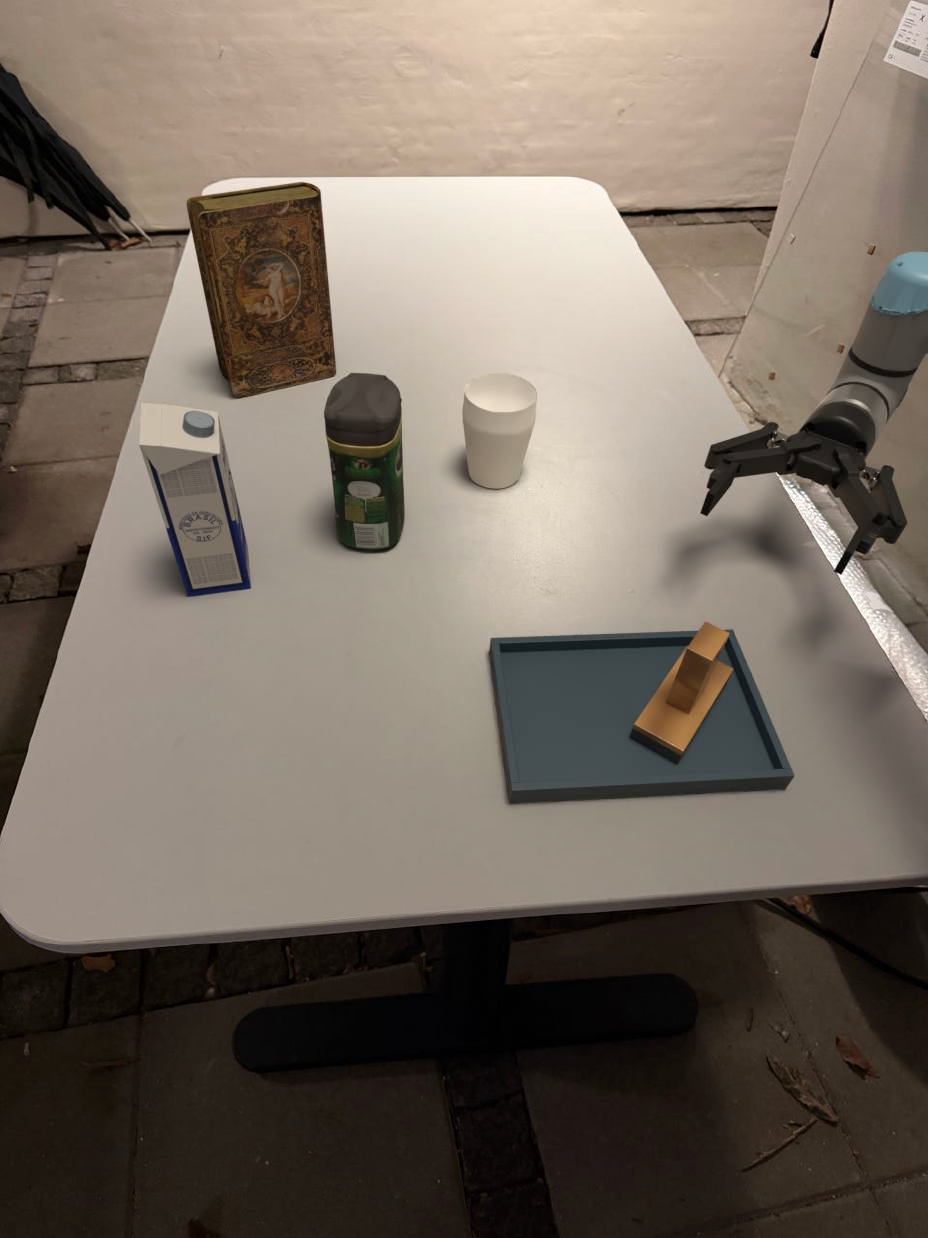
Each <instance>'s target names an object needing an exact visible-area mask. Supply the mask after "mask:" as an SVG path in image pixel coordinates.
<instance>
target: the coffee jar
mask: <svg viewBox="0 0 928 1238" xmlns="http://www.w3.org/2000/svg"><path fill="white" fill-rule="evenodd" d="M402 402H403V399H402V397H401V392H400V389H399V387H398V385H396V383H394V382H393V381H392V380H391V379H389V377H388V376H387V375H384V374H377V373H367V372H349V374H348V375H346V376H344V377H343V378H341V379H340V380H338V381H337V382H336V383H335V384H334V385H333V387H332V388H331V389H330V392H329V394H328V396H327V399H326V402H325V406H324V409H323V418H324V428H325V437H326V442H327V448H328V455H329V462H330V472H331V482H332V492H333V502H334V504H333V505H334V514H335V524H336V525H335V526H336V534H337V537H338V539H339V541H340V542H341V543H342V544H344V545H345V546H348V547H350V548H354V549H357V550H363V551H378V550H385V549H388V548H390V547H393V546H394V545H396V543H397V542H399V541H398V540H399V539H400V537H401V535H402V531H403V527H404V523H405V512H406V511H405V510H406V509H405V487H404V485H405V483H404V455H403V453H404V452H403V419H402V418H403V416H402V415H403V414H402V411H403V410H402Z"/></svg>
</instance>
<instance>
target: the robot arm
mask: <svg viewBox="0 0 928 1238" xmlns="http://www.w3.org/2000/svg"><path fill="white" fill-rule="evenodd" d="M927 354H928V252H927V251H908V252H905V253H901V254H900V255H898V256H896V257H894V258H893V259H892V260H891V261H890V262H889V264H888V265H887V268H886V269H885V270H884V273H882V275H881V278H880V280H879V282H878V284H877V285H876V287H875V289H874V291H873V293H872V295H871V297H870V300H869V304H868V305H867V309H866V311H865V313H864V316H863V318H862V321H861V323H860V326H859V328H858V331H857V333H856V336H855V337H854V340H853V342H852V343H851V346H850V348H849V350H848V352H847V354H846V356H845V358H844V360H843V363H842V365H841V367H840V369H839V371H838V374H837V376H836V377H835V380H834V382H833V384H832V385H831V387H830V389H829V390H828V391H827V393H826V394H825V395H824V397H823V398H822V399H821V401H820V402H819V403H818V404H817V406H816V407H815V408H814V410H812V412H811V414H810V415H809V416H808V418H807V419H806V420H805V422H804V423H803V424H802V426H801V427H800V428H799V430H798V431H797V432H796V433H794V434H791V435H787V434H784V433H782V432H780V431H778V430H779V424H778V423H777V422H775V421H769V422H767V423H766V424H765V425H764V426H762V427H761V428H759V429H757V430H754V431H750V432H748V433H744V434H741V435H737V436H734V437H731V438H727V439H725V440H722V441H718V442H715V443H713V444H710V447H709V449H708V452H707V454H706V455H707V456H706V458H705V461H704V463H703V464H704V465H703V466H704V468H705V469H706V470H709V471H710V470H711V472H710V473H709V477H708V480H707V482H706V483H707V484H706V489H707V490H708V491H707V492H706V495H705V498H704V501H703V504H702V506H701V509H700V512H699V514H700V515H703V516H705V517H708V516H709V514H710V513H712V511H713V510H714V508H715V507H716V505H717V504H718V503H719V502H720V501H721V499H722V498H723V497H724V496H725V494H726V493H727V491H728V490H729V489H730V488H731V487H732V485H733V483H734V480H735V479H737V478H745V477H750V476H753V477H754V476H759V475H768V474H774V473H776V474H777V475H778V476H785V475H787V476H788V475H793V474H794V475H795V476H797V477H800V478H803V479H807V480H811V481H812V482H814V483H816V484H817V485H819V486H823V487H825V486H827V488H828V489H829V491H830V492H831V494H832V496H833V497H834V498H835V499H839V500H840V502H841V503H842V505H843V506H844V508H845V509H846V511H847V513H848V514H849V515H850V517H851V519H852V520H853V522H854V523H855V525H856V526H857V528H856V530H855V532H854V534H853V535H852V537H851V539H850V541H849V542H848V544H847V546H846V548H845V550H844V551H843V553H842V556H841V557H840V559H839V561H838V562H837V564H836V566H835V568H834V569H833V572H834V573H836V574H838V575H840V576H842V575H843V573H844V572H845V570H846V568H847V566H848V564H849V562H850V561H851V559H852V558H853V556H854V554H855V552H856V553H860V554H862V555H864V556H865V555H867V554H869V553H870V551H871V550H872V548H873V546H874V545H875V542H876V540H877V539H882V540H883V541H884V542H885V543H886V544H889V545H894V544H896V543H897V542H898V541H899V539H900V537H901V535H902V533H903V532H904V530H905V528H906V527H907V525H908V520H907V517H906V515H905V511H904V508H903V506H902V503H901V501H900V498H899V495H898V491H897V489H896V486H895V484H894V481H893V477H894V473H895V468H894V467H893V466H891V465H887V464H884V465H882V466H881V468H880V469H877V468H874V467H870V466H867V461H866V459H867V458H868V456H869V455H870V453H871V451H872V449H873V448H874V446H875V445H876V443H877V441H878V440H879V438H880V436H881V434H882V433H883V431H884V430H885V428H886V426H887V423H888V422H889V420H890V419H891V417H892V415H893V414H894V413H895V411H896V410H897V409H898V408H899V406H901V404H902V402H903V400H904V398H905V396H906V395H907V393H908V390H909V385H910V384H911V382H912V380H913V378H914V376H915V374H916V372H917V370H918V369H919V367H920V365H921V363H922V361H923V360H924V358H925V357H926V355H927ZM861 479H862V480H864V481H865V484H866V486H865V484H864V483H863V481H862V480H861Z"/></svg>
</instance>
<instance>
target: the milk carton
mask: <svg viewBox="0 0 928 1238" xmlns="http://www.w3.org/2000/svg"><path fill="white" fill-rule="evenodd" d="M221 425H222V424H221V421H220V416H219V412H218V411H212V410H206V409H201V408H194V407H187V406H180V405H174V404H167V403H151V402H141V403H140V421H139V433H138V446H139V448H140V452H141V454H142V459H143V461H144V465H145V467H146V470H147V474H148V476H149V480H150V484H151V487H152V489H153V492H154V496H155V499H156V502H157V505H158V508H159V511H160V514H161V518H162V521H163V523H164V524H163V525H164V526H165V530H166V534H167V537H168V539H169V540H168V541H169V542H170V545H171V550H172V552H173V555H174V558H175V561H176V564H177V567H178V571H179V574H180V577H181V580H182V582H183V587H184V589H185V592H186V595H187V597H188V598H190V597H197V596H204V595H205V596H206V595H211V594H212V595H213V594H220V593H226V592H234V591H242V590H248V589H249V590H250V589H252V583H251V571H250V570H251V569H250V558H249V547H248V542H247V537H246V533H245V529H244V523H243V520H242V516H241V515H242V514H241V511H240V506H239V502H238V498H237V493H236V489H235V483H234V479H233V475H232V471H231V466H230V461H229V458H228V451H227V448H226V443H225V438H224V434H223V430H222V426H221Z"/></svg>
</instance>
